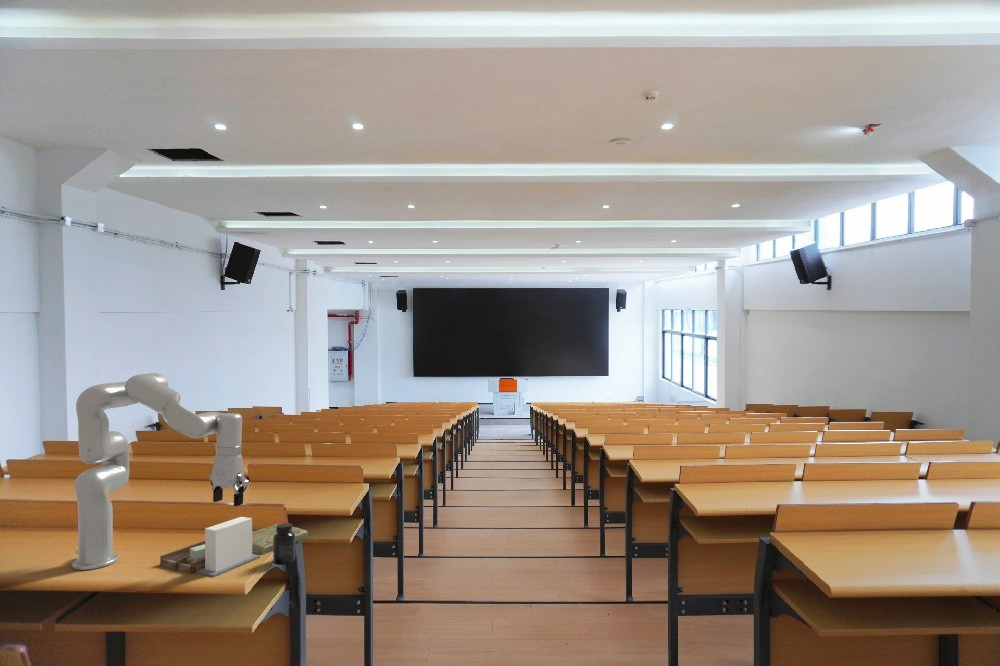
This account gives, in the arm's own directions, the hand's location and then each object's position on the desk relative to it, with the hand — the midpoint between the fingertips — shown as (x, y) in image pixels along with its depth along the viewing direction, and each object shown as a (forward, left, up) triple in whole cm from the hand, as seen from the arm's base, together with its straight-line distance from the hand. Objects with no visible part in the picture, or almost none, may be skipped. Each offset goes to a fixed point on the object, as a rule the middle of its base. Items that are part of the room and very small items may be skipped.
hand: (227, 503), depth 193 cm
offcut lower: (-9, -1, -21) cm, 22 cm away
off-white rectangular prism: (0, 0, -20) cm, 20 cm away
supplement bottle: (+14, +10, -21) cm, 27 cm away
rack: (-12, -1, -20) cm, 24 cm away
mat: (0, 0, -20) cm, 20 cm away
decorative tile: (-6, +22, -21) cm, 31 cm away
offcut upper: (-8, -1, -18) cm, 19 cm away
